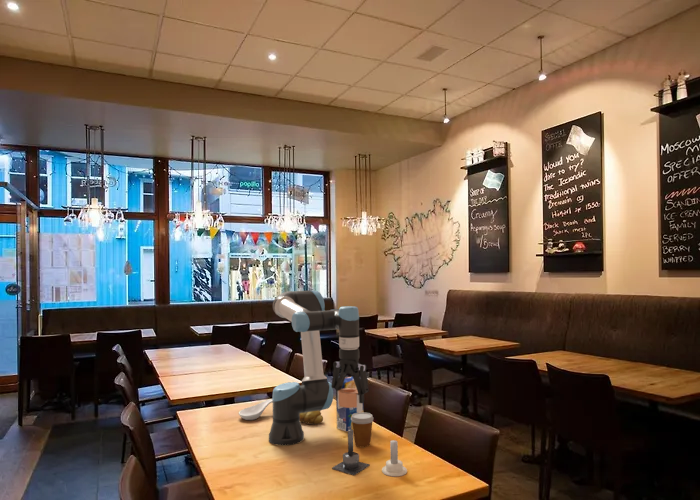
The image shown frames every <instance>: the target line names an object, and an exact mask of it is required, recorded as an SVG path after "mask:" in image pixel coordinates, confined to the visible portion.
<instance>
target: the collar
mask: <svg viewBox="0 0 700 500" xmlns="http://www.w3.org/2000/svg"><path fill="white" fill-rule="evenodd" d="M338 392H339V405H340V406H341V407H346V408H352V407H357V394H358V391H357V389H356V388H343V389H341V390H338Z"/></svg>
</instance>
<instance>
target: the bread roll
mask: <svg viewBox="0 0 700 500" xmlns="http://www.w3.org/2000/svg"><path fill="white" fill-rule="evenodd" d="M323 421H324V417H323V415H322V412H321V411H312V412H305V413H300V423H305V424H309V425H311V424H314V425H317V424H321V423H322V422H323Z"/></svg>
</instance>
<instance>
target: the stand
mask: <svg viewBox="0 0 700 500" xmlns="http://www.w3.org/2000/svg"><path fill="white" fill-rule="evenodd" d="M370 465H371V464H369V463H366V462H362V461H360V454H359V453H358V452H355V451H354V433H353V430H352V429H349V430H348V431H347V451H346V452H344V453H342V461H341V462H339V463H337V464H336V465H334V466H333V467H331V469H332V470H335V471H338V472H341V473H345V474H348V475H352V476H356V475H357V474H359V473H361V472H363V471H365V470H366V469H367V468H369V467H370Z"/></svg>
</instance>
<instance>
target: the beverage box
mask: <svg viewBox="0 0 700 500" xmlns="http://www.w3.org/2000/svg"><path fill="white" fill-rule="evenodd" d="M343 388H356V385H355V382H354V379H353V377H352V376H348V377H347V376H346V377H345V380H344V383H343V386H342V389H343ZM356 389H357V388H356ZM335 398H336V397H335ZM335 401H336V402H335V403H336V409H335V410H336V429H339V430H341V431H344V432H347V433H348V430H349V429H352V430H353V425H352V421H351V417H352V415H353V414H355V413H357V407H352V408H346V407H343V408H340V409H338V399H337V398H336V399H335ZM361 412H364V409H363V411H361ZM359 413H360V412H359ZM364 413H365V412H364Z"/></svg>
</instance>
